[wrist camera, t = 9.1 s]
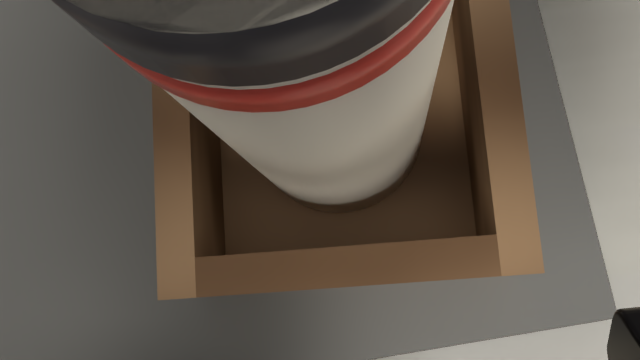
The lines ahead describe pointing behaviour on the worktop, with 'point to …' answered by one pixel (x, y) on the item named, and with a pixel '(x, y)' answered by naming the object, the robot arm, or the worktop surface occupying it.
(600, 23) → the worktop surface
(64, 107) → the rubber mat
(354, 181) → the white lens
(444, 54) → the wooden tray
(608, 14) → the worktop surface
